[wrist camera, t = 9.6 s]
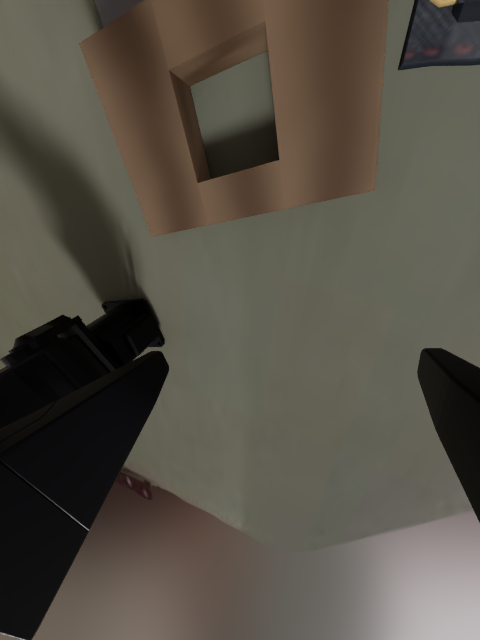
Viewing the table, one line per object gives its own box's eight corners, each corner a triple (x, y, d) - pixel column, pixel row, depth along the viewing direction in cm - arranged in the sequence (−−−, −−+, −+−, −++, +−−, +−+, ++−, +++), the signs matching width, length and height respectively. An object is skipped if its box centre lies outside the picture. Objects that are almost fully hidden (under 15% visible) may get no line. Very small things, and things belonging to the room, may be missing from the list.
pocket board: (168, 230, 20) (151, 236, 18) (111, 62, 15) (79, 43, 13) (366, 188, 15) (375, 190, 13) (381, -94, 10) (400, -170, 8)
